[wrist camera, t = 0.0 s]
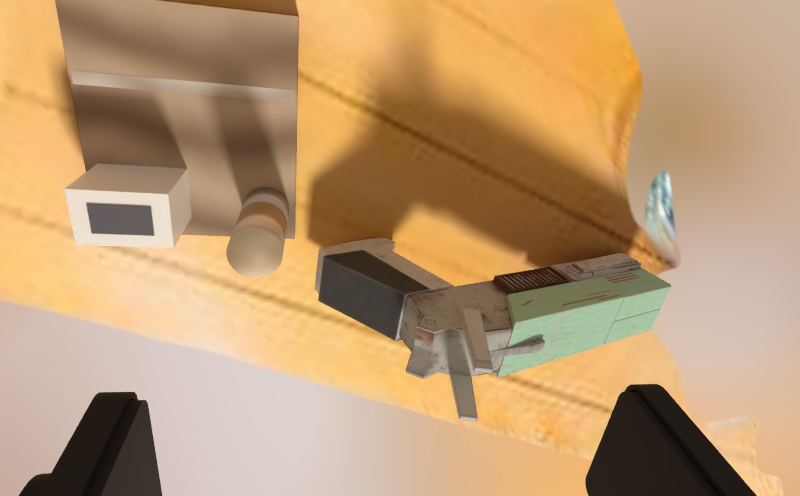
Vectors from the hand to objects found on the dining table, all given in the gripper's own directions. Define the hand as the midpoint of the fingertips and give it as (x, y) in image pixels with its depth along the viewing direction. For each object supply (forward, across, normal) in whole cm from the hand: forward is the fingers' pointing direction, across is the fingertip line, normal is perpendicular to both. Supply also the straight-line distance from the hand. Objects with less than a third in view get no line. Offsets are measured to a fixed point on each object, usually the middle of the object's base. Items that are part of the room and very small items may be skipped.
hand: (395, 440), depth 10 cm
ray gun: (+37, -16, +16) cm, 43 cm away
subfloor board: (+37, +12, +4) cm, 39 cm away
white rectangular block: (+36, +16, +9) cm, 40 cm away
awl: (+36, +6, +10) cm, 37 cm away
